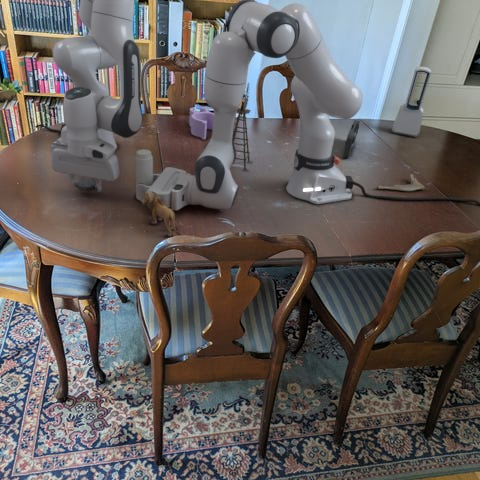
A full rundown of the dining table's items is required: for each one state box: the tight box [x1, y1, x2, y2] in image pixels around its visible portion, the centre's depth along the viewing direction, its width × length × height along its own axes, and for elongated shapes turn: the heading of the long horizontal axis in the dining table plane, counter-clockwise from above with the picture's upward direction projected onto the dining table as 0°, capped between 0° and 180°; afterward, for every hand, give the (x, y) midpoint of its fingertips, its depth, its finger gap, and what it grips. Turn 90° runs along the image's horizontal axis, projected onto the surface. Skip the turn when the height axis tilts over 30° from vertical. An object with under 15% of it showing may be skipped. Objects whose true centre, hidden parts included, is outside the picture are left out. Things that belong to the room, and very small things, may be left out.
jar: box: [134, 149, 154, 202], centre depth 142 cm, size 5×5×15 cm
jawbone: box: [376, 173, 426, 193], centre depth 169 cm, size 9×20×2 cm, turn 126°
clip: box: [188, 106, 214, 140], centre depth 199 cm, size 20×12×7 cm, turn 23°
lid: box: [76, 178, 98, 193], centre depth 143 cm, size 6×6×2 cm
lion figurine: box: [140, 191, 182, 237], centre depth 130 cm, size 15×5×9 cm, turn 50°
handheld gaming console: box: [342, 119, 361, 159], centre depth 194 cm, size 23×3×10 cm, turn 161°
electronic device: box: [391, 66, 432, 138], centre depth 214 cm, size 12×8×30 cm, turn 71°
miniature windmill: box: [233, 82, 252, 171], centre depth 166 cm, size 9×8×30 cm
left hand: (87, 188), depth 143 cm, fingers closed on lid, 6 cm apart
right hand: (141, 181), depth 143 cm, fingers closed on jar, 5 cm apart
